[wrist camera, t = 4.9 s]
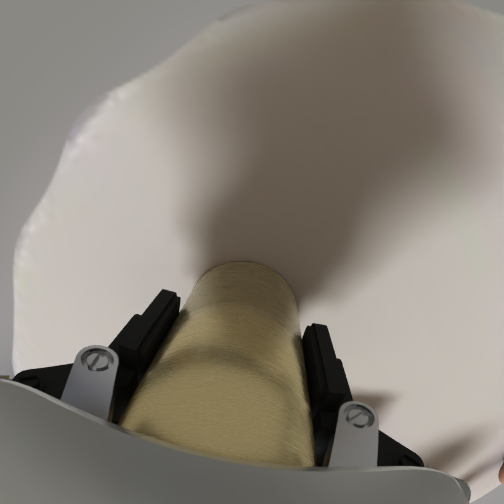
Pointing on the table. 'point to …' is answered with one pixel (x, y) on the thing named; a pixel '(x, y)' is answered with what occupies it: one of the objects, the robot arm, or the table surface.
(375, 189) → the table surface
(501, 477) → the ceramic jug
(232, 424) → the brass peg
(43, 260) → the table surface
